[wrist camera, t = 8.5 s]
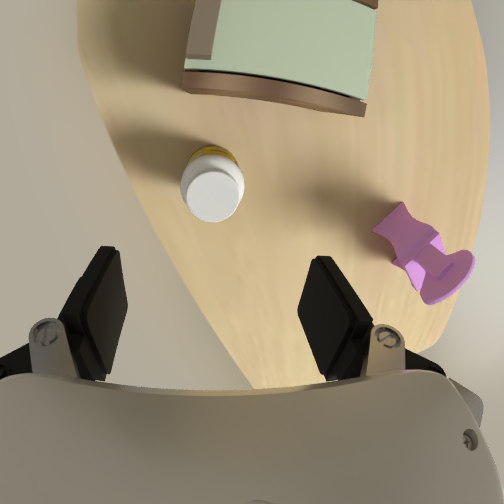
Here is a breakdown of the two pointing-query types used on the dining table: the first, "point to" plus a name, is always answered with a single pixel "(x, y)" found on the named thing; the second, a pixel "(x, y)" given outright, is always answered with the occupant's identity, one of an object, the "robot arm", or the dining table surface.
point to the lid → (286, 41)
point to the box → (273, 88)
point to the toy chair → (425, 256)
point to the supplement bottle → (212, 184)
